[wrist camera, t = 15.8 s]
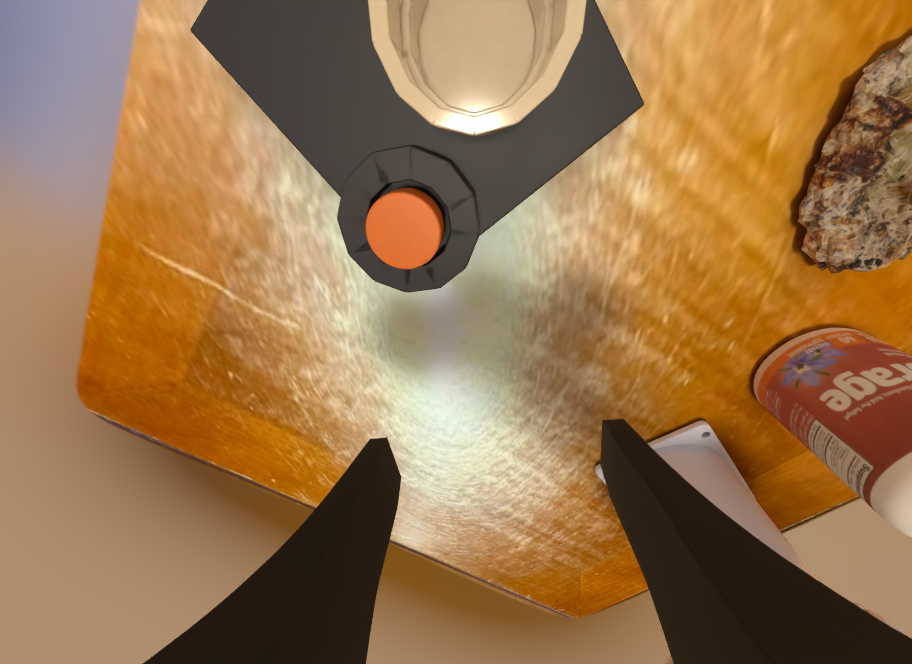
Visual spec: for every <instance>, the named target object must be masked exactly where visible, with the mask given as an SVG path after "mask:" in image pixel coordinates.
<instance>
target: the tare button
mask: <svg viewBox="0 0 912 664" xmlns="http://www.w3.org/2000/svg"><path fill="white" fill-rule="evenodd" d="M443 232H444V220H443V216H442V213H441V210H440V208H439V207H438V205H437V204H436V202H435V201H434V200H433V199H432V198H431V197H430V196H429V195H427V194H426V193H424V192H422V191H420V190H417V189H414V188H400V189H396V190H394V191H391V192H390V193H388V194H386V195H384V196H382V197H381V198H379V199H378V200H377V201H376V202H375V203H374V204H373V205H372V207H371V208H370V210H369V212H368V215H367V218H366V236H367V239H368V242H369V245H370V247H371V248H372V250H373V251H374V253H375V254H376V255H377V256H378V257H379V258H380V259H381V260H382V261H384V262H385V263H387V264H388V265H390V266H393V267H396V268H400V269H413V268H417V267H420V266H422V265H424V264H426V263H427V262H428V261H429V260H431V259H432V257H433V256H434V255H435V253H436V252H437V250H438V247H439V245H440V242H441V240H442V237H443Z"/></svg>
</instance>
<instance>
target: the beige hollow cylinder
mask: <svg viewBox="0 0 912 664" xmlns="http://www.w3.org/2000/svg"><path fill="white" fill-rule="evenodd" d="M586 1H587V0H368V7H369V17H370V26H371V36H372V42H373V45H374V48H375V50H376V52H377V54H378V56H379V58H380V60H381V63H382V65H383V67H384V69H385V71H386V73H387V75H388V77H389V79H390V81H391V83H392V85H393V88H394V90H395V92H396V93H397V94H398V96H399V97H400V98H401V99H403V100H404V101H405V102H406V103H407V104H408V105H409V106H411V107H412V108H413V109H414V110H415V111H416V112H417V113H418V114H420V115H421V116H422V117H423V118H424V119H425V120H426V121H428V122H429V123H430V124H431V125H433V126H435V127H437V128H439V129H442V130H444V131H446V132H450V133H454V134H459V135H463V136H467V137H471V138H479V137H483V136H486V135H490V134H493V133H497V132H500V131H504V130H506V129H508V128H510V127H512V126H514V125H516V124H517V123H519V122H520V121H521V120H522V119H523V118H525V117H526V116H527V115H528V114H529V113H530V112H531V111H532V110H533V109H535V108H536V107H537V106H538V105H539V104H540V103H541V102H542V101H543V100H545V99H546V98H547V97H548V96H549V95H550V94H551V93H552V92H553V91H554V89H555V88H556V87H557V85H558V83H559V81H560V79H561V77H562V75H563V73H564V71H565V69H566V67H567V65H568V63H569V61H570V59H571V57H572V55H573V53H574V51H575V49H576V47H577V45H578V43H579V41H580V39H581V35H582V32H583V25H584V17H585V9H586Z"/></svg>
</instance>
